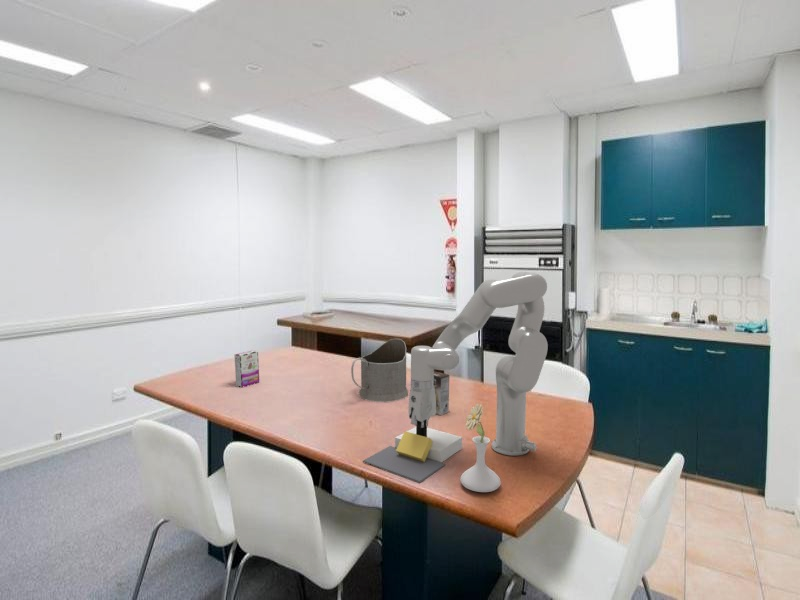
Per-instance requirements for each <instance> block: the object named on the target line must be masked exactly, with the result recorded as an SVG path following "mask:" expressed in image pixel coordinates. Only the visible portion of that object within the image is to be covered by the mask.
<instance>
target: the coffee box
mask: <svg viewBox="0 0 800 600" xmlns="http://www.w3.org/2000/svg"><path fill="white" fill-rule="evenodd" d="M434 388H435V395H436V414H435V415H438V416H442V415H445V414H447V413H449V412H450V409H449V408H450V374H446V373H443V372H438V371H436V370H434Z"/></svg>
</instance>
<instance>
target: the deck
mask: <svg viewBox="0 0 800 600" xmlns="http://www.w3.org/2000/svg"><path fill="white" fill-rule="evenodd" d="M406 432H410V433H413V434H416V426H414V427H412V428H411V429H409V430H407V431H406ZM403 434H404V432H403V433H401V434H400V435H397V436H395V437H394V447H395V448H397V447H398V445H399V442H400V440H401V438H402V436H403ZM427 437H428V438H430V439H431V440H432V441H433V443H432V445H431V448H430V450H429V452H428V455H427V458H430V459H433V460H436V461H439V462H442V463H444V461H446V460H447V459H449V458H450V457H451V456H453V455H455V454H456V453H457V452H458V453H459V451H461V450H462V449H463V436H460V435H456V434H452V433H448V432H446V431H442V430H437V429H434V428H430V427H427Z"/></svg>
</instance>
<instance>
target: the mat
mask: <svg viewBox="0 0 800 600" xmlns="http://www.w3.org/2000/svg"><path fill="white" fill-rule="evenodd" d="M396 449H397V448H395V446H392V445H389V446H387V447H385V448H383V449H381V450H379V451H378V452H375V453H374V454H373V455H370V456H369V457H366V458H364V459H363V460H362V463H363V462H365V463H364V464H366V463H368V464H367V465H369V464H371V465H370V466H372V465H374V466H376V467H375V468H377V467H379V468H378V469H380V468H381V469H380V470H383V469H384V470H383V471H385V470H387V471H386V472H388V471H389V472H388V473H391V472H392V473H391V474H394V475H396V474H398V475H397V476H399V475H400V476H399V477H402V476H403V477H402V478H404V479H407V478H408V479H407V480H410V481H413V482H416V483H418V484H421V483H422V482H424V481H425V480H427V479H428V478H429V477H431V476H433V474H435V473H437V472H438V471H440V470H441V469H442V468H443V467H445V466H446V463H445V462H439V461H436V460H433V459H430V458H427V457H426V460H425V462H423V461H420V460H417V459H414V458H410V457H407V456H404V455H401V454H399V453H398V452H397V451H396ZM374 466H373V467H374Z"/></svg>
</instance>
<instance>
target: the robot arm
mask: <svg viewBox="0 0 800 600" xmlns="http://www.w3.org/2000/svg"><path fill="white" fill-rule="evenodd" d="M547 290H548V283H547V280H546V279H545V278H544V276H543V275H540V274H539V273H535V272H526V271H524V272H523V271H519V272H516V273H514V274H513V275H512V276H511V277H510V278H508V279H504V280H496V279H487V280H484V281H483V282H482V283H481V284H480V285H479V286H478V288H477V289H476V291H475V292H474V293H473V295H472V296H471V297H470V299H469V301H468V302H467V303H466V304H465V305H464V307H463V308H462V310H461V312H460V313H459V314H458V315H457V316H456V317H455V318H454V319H453V320H452V321H451V322H450V323H449V324H448V325H447V326H446V327H445V328H444V330H442V332H441V334H440V335H439V336H438V338H437V339H436V341H435V342H434V344H433V345H432V347H431V346H429V345H416V346H414V347H412V348H411V350H410V391H409V399H408V417H409V419H410V424H411V425H413V426H414V427H416V434H417V435H421V436H424V437H427V428H428V426H429V419H431V418H432V417H434V416H435V415H437V414H436V395H435V388H434V371H435V370H438V371H447V372H448V371H453V370H455V369H456V368H457V367H458V365H459V362H460V356H459V353H458V352H457V351H456V349H457V348H458V347H459V346H460V344H461V343H462V342H463V341H464V340H465V339H466V338H467V337H469V336H471V335H473V334H474V333H475V334H476V333H477V332H479V331H480V330H482V329H483V328H484V326H485V324H486V323H487V321H488V320H489V319H490V317H491V316H492V314H493V313H494V312H495V310H496V308H498V309H503V308H509V307H515V306H517V310H516V311H517V313H516V315H515V319H514V322H513V324H512V327H511V330H510V334H509V336H508V342H507V343H508V347H509V348H510V350H511V351H513V352H514V353H515V355H506V356H504V357H502V358H500V359H499V360H498V362H497V363H496V366H495V382H496V398H497V399H496V425H495V426H496V427H495V429H496V430H495V431H496V432H495V439H494V440H492V441H491V445H490V446H491V448H492V450H493V451H495V452H497V453H499V454H501V455H505V456H511V457H513V456H523V455H526V454H528V453H529V452H530V451H533V452H536V451H537V445H536V442H533V441H530V440H529V439H528V437H529V436H528V435H526V415H527V413H526V411H527V410H526V409H527V408H526V405H527V393H528V392H529V393H530V391H532V390H533V389H534V388H535V387H536V385H537V383H538V381H539V380H540V379H539V377H540V376H541V373H542V370H543V367H544V364H545V361H546V357H547V355H548V351H549V350H548V346H549V344H548V341H547V338H546V336H545V335H544V334H543V333H542V332H540V330H541V327H542V323H543V320H544V315H545V302H544V298H543V297H544V296H545V294H547Z"/></svg>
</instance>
